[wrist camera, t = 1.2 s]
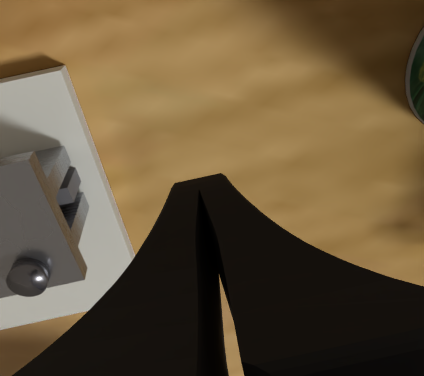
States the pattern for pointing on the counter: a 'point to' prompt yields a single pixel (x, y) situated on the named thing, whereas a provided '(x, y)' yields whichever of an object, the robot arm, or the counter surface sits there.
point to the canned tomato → (416, 77)
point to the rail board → (63, 190)
